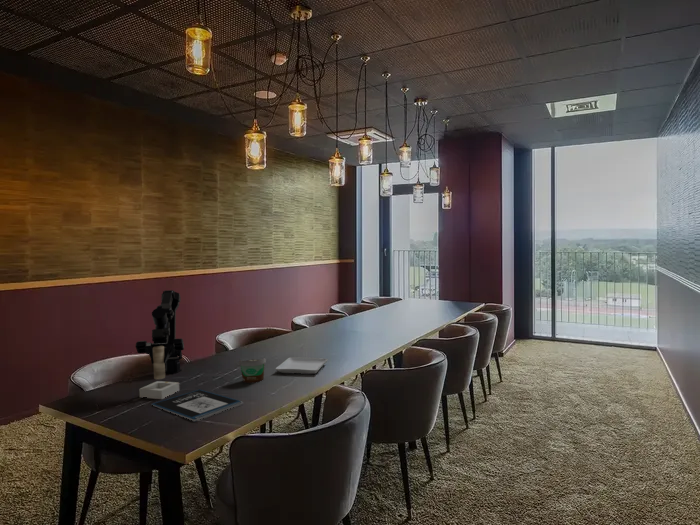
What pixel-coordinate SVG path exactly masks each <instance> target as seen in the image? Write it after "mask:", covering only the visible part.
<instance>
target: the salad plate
mask: <svg viewBox="0 0 700 525" xmlns="http://www.w3.org/2000/svg"><path fill="white" fill-rule="evenodd" d="M328 360H329V359H328V358H321V357H320V358H319V357H298V356H296V357H288V358H287V359H286V360H284V361H283V362H282V363H280V364H279V365H278V366H276V367H275V371H277V372H279V373H283V374H294V373H301V374H300V375H303V374H304V375H314V374H316V373H318V372H319V370H320V369H321V368H322V367H323V366H325V364H326V363H327V362H328Z"/></svg>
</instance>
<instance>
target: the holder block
mask: <svg viewBox="0 0 700 525" xmlns="http://www.w3.org/2000/svg"><path fill="white" fill-rule="evenodd" d="M138 390H139V391H138V392H139V398H143V397H147V398H146V399H154V400H155V399H156V400H164V399H166V398H167V396H168V397H169V395H170V396H172V395H173V394H175V392H176V393H178V392H180V382H175V381H162V380H156V381H154V382H151V383H150V384H148V385H145V386H142V387H141V388H139V389H138ZM177 391H178V392H177ZM165 397H166V398H165Z"/></svg>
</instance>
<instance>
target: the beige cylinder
mask: <svg viewBox="0 0 700 525" xmlns="http://www.w3.org/2000/svg"><path fill="white" fill-rule="evenodd" d="M164 357H165V356H164V346H156V347H153V364H152V365H153V379H154V380H163V379H165V378H166V373H165V363H164Z"/></svg>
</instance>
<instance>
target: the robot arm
mask: <svg viewBox="0 0 700 525" xmlns="http://www.w3.org/2000/svg"><path fill="white" fill-rule="evenodd" d="M160 300H161V301H160V304H159V305H158V306H156V308H155V309H153V310H152V312H151V317H152V320H153V324H154V325H155V329H152V330H151V340H152V342H153V343H152V342H147V340H138V341H137V342H135V348H136V351H137V354H146V355H148V356H149V358H150V363H151V364H152V365H153V347H156V346H164V356H165V357H164V363H165V374H172V375H174V374H177V373H179V372H181V371H182V369H181V363H180V361H181V360H183V353H182V351H184V350H185V344H184V339H183V338H176V337H177V336H176V335H177V334H176V332H177V328H176V326H177V325H176V324H177V322H176V321H177V319H176V316H177V315H176V314H177V311H178V308H179V307H180V303H181V294H180V293H179V292H176V291H175V290H173V289H171V290H163V291H162V293H161V299H160Z"/></svg>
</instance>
